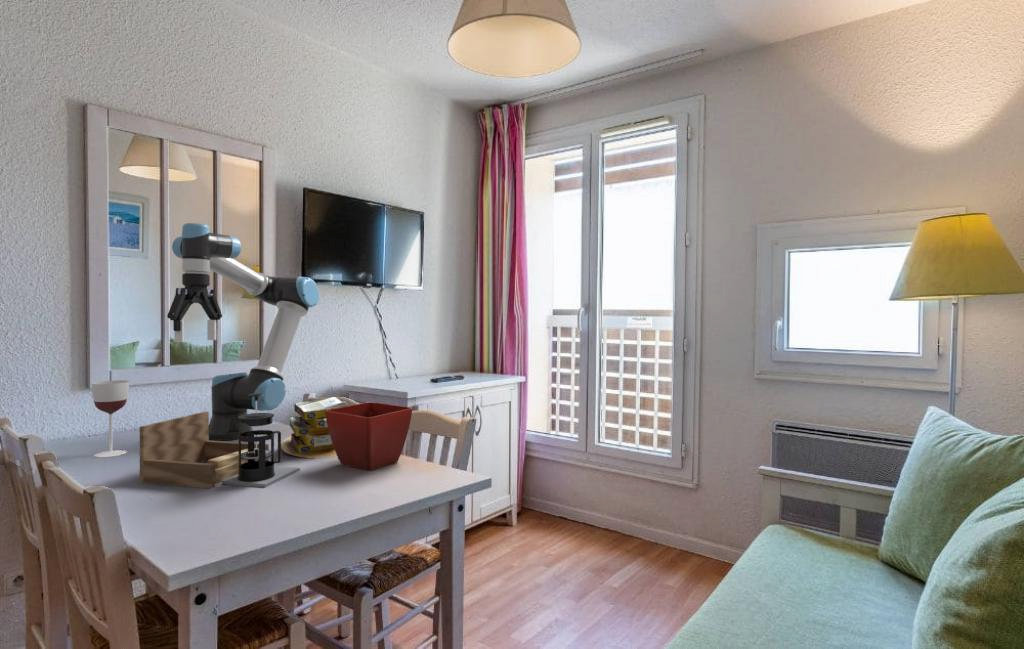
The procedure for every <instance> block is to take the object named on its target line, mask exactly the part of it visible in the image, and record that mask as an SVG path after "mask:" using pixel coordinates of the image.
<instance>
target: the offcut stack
mask: <svg viewBox="0 0 1024 649" xmlns="http://www.w3.org/2000/svg"><path fill="white" fill-rule="evenodd" d="M255 449H256V448H254V450H255ZM258 450H259V449H258ZM247 451H248V449H245V450H241V453H244V452H247ZM254 461H258V459H254ZM246 462H248V459H241V464H243V463H246ZM207 463H208V464H215V486H216V485H218V484H222V481H223V480H225V479H228V478H230V477H232V476H235V475H237V474H238V452H234V453H231V454H227V455H224V456H220V457H217V458H214V459H210V460H208V461H207Z"/></svg>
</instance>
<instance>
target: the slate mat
mask: <svg viewBox="0 0 1024 649" xmlns="http://www.w3.org/2000/svg"><path fill="white" fill-rule="evenodd" d="M300 470H301V467H294V466H281V465H280V466H279V465H274V472H275V476H274V477H272V478H270V479H267V480H263V481H256V482H244V481H239V480H238V474H237V475H235V476H232V477H230V478H228V479H225V480H223V481H222V482H221V484H222V485H232V486H233V485H234V486H244V487H245V486H246V487H247V486H248V487H255V488H257V487H258V488H267V487H269V486H272V485H273V484H275V483H278V482H279V481H281V480H284V479H286V478H288V477H289V476H292V475H294V474H296V473H297V472H300Z"/></svg>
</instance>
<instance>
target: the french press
mask: <svg viewBox="0 0 1024 649" xmlns="http://www.w3.org/2000/svg"><path fill="white" fill-rule="evenodd" d="M263 395H265V394H263V393H253V394H249V395H248V396H254V398H255V401H256V410H255V412H254V413H253V412H252V413H247V414H245V415H241V416H239V417H238V418H239V419H240V421H241V422H242V423H246V424H247V425H249V426H251V427H255V429H254V430H252V431H247V432H242V433H240V434H238V439H237V442H238V480H239V481H244V482H256V481H263V480H267V479H270V478H272V477H274V476H275V472H274V466H275V465H276V464H281V462H282V448H281V443H282V432H281V431H280V430H275V431H273V430H269V429H258V427H263V426H264V427H265V426H267V425H268V426H269V425H271V424H273V417H275V414H274V413H270V412H258V410H257V401H258V396H263ZM275 434H277V460H275ZM246 436H248V437H246ZM269 440H270V450H265V444H266V441H269ZM241 443H248V451H247V452H244V453H241ZM254 443H255V444H256V449H255V450H254ZM257 444H259V450H258V449H257ZM267 457H270V460H269V461H265V458H267ZM241 459H248V462H246V463H243V464H241ZM254 459H259V461H254Z"/></svg>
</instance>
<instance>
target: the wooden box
mask: <svg viewBox="0 0 1024 649" xmlns="http://www.w3.org/2000/svg"><path fill="white" fill-rule="evenodd" d="M209 414H210V413H209V411H201V412H197V413H192V414H188V415H184V416H180V417H176V418H172V419H167V420H163V421H159V422H154V423H150V424H146V425H142V426H139V483H142V484H143V483H145V484H155V485H166V486H178V487H179V486H180V487H191V488H202V489H203V488H204V489H213V488H215V487H216V485H215V464H208V460H210V459H214V458H217V457H220V456H224V455H227V454H231V453H234V452H238V441H225V440H210V439H209V424H210V420H209V419H210V418H209V416H210V415H209ZM269 446H270V445H269V443H268V444H266V443H265V450H269V448H270V447H269ZM254 448H256V442H254ZM245 449H248V442H241V450H245ZM257 449H259V443H257ZM269 459H270V458H269V457H267V458H265V461H270V460H269ZM258 461H259V459H258ZM206 462H207V463H206Z"/></svg>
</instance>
